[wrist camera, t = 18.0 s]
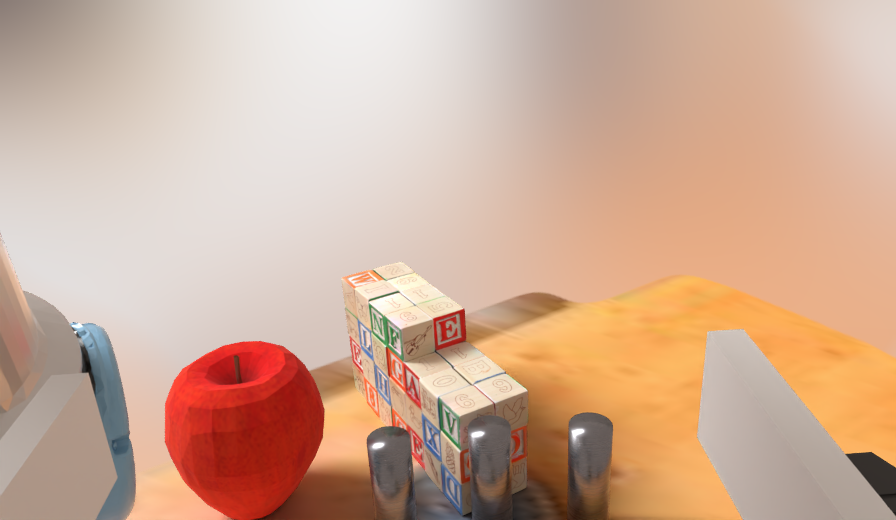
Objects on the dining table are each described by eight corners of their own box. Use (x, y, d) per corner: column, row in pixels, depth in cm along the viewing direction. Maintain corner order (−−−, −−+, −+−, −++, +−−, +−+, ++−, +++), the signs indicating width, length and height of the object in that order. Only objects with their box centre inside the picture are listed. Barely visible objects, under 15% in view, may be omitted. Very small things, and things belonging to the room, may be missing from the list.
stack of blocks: (530, 489, 61) (529, 355, 56) (462, 519, 58) (454, 381, 53) (410, 368, 78) (401, 258, 73) (353, 387, 76) (340, 274, 71)
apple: (324, 556, 55) (301, 400, 50) (162, 563, 56) (121, 408, 50) (342, 452, 66) (325, 314, 61) (207, 458, 66) (177, 322, 61)
